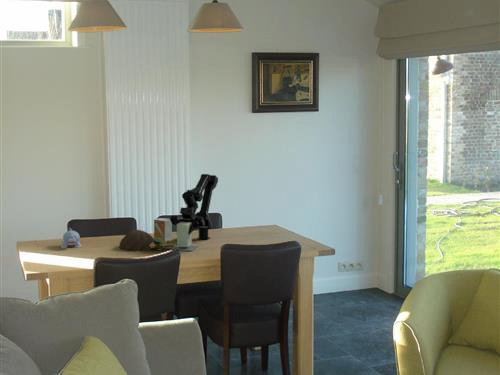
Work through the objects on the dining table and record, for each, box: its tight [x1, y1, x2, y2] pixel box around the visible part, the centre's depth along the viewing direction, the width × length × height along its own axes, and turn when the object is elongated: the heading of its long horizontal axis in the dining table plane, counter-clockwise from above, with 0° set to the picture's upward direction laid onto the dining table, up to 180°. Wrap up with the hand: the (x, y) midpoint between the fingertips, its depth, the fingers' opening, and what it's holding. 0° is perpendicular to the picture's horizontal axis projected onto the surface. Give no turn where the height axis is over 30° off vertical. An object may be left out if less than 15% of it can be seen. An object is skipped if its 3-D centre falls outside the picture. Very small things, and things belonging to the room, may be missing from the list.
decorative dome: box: [119, 229, 154, 252], centre depth 398 cm, size 19×20×10 cm
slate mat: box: [169, 245, 199, 253], centre depth 396 cm, size 12×12×1 cm
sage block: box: [176, 222, 193, 247], centre depth 395 cm, size 6×6×12 cm
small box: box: [153, 217, 173, 241], centre depth 413 cm, size 8×6×13 cm
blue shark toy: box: [60, 227, 82, 249], centre depth 399 cm, size 11×15×10 cm
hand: (183, 233), depth 394 cm, fingers closed on sage block, 6 cm apart
